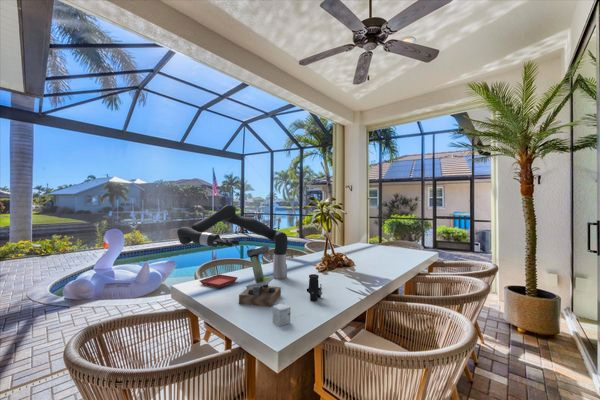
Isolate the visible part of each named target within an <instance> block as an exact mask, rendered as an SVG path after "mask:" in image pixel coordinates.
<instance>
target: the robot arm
mask: <svg viewBox="0 0 600 400" xmlns="http://www.w3.org/2000/svg"><path fill="white" fill-rule="evenodd" d="M221 221H224V222H226V223H230V224H233V225H236V226H238V227H240V228H242V229H244V230H246V231H248V232H250V233H253V234H254V235H257V236H261V237H264V238H266V239H269V240H270V241H272V242H273V243H275V245H274V249H273V254H272V255H273V258H272V259H273V263H272V266H273V267H272V269H273V270H272V271H273V272H272V276H273V277H274V279H275V280H283V279H286V278H288V264H287V251H288V235H287V234H286V233H285V232H283V231H279V230H276V229H273V228H271V227H269V226H267V225H266V224H265V223H263V222H262V221H259V220H257V219H256V218H253V217H249V216H248V217H247V216H243V215H239V214H237V210H236V207H235V206H234V205H233V204H226V205H224V206H223V207H222V208H220V209H219V210H217V211H216V212H215V213H213V214H211V215H209V216H208V217H204V218H203V219H202V220H201V219H200V220H199V221H198V222H194V223H193V224H192V225H191V227H189V226H180V227H179V228H178V229H177V237H178V240H179V243H180V244H181V245H188V244H190V243H191V242H192V243H193V244H197V245H201V246H205V247H213V248H217V247H218V246H220V247H226V246H227V247H233V246H234V245H237V246H238V245H239V244H240V241H239V240H235V239H233V238H227V237H220V234H218V233H212V232H206V231H208V230H209V229H211V228H212V227H214V226H215V225H216V224H218V223H220V222H221Z"/></svg>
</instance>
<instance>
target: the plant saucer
mask: <svg viewBox="0 0 600 400" xmlns="http://www.w3.org/2000/svg"><path fill="white" fill-rule="evenodd" d="M238 279H239V277H237V276H231V275H226V274H225V275H224V274H221V273H220V274H215V275H213V276H209V277H207V278H203V279H200V280H199V282H200V283H201V284H202V285H203V286H208V287H214V288H219V289H220V288H223V287H225V286H228V285H231V284H233V283H235V282H236V281H237V280H238Z"/></svg>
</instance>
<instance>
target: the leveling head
mask: <svg viewBox="0 0 600 400" xmlns="http://www.w3.org/2000/svg"><path fill="white" fill-rule="evenodd" d="M269 253H270V246H269V245H268V244H266V245H262V246H258V247H254V248H253V247H252V248H249V249H247V250H246V255H247V257H248V258H249V259H250V263H251V268H252V271H253V276H254V279H253V280H252V281H250V282H249V283H248V284H246V285H245V288H246V289H248V288H253V287H259V288H261V287H262V286H263V285H267V284H268V285H269V283H271V282H272V281H273V280H274V279H275V278H274V277H273V275H270V276H266V277H265V276H264V271H263V268H262V263H261V259H260V256H262V255H265V254H266V255H267V254H269Z"/></svg>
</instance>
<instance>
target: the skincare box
mask: <svg viewBox="0 0 600 400" xmlns="http://www.w3.org/2000/svg"><path fill="white" fill-rule="evenodd" d="M291 307H292V306H289V305H288V304H287V303H284V302H283V303H279V304H278V303H277V304H275V305H274V304H273V305H272V322H273V323H274V324H276V325H277V326H278V327H282V326H285V325H289V324H291V313H292V312H291V310H292V309H291Z"/></svg>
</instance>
